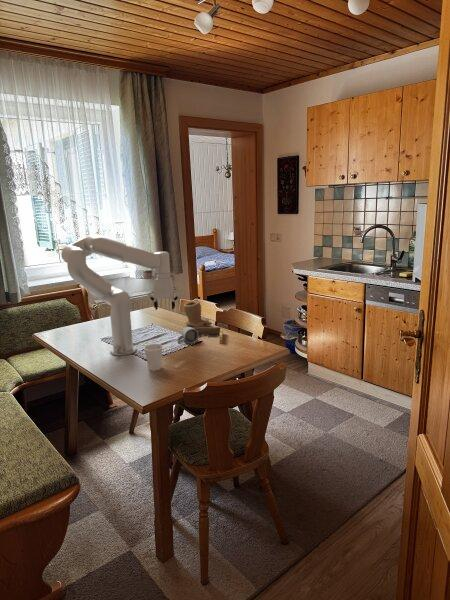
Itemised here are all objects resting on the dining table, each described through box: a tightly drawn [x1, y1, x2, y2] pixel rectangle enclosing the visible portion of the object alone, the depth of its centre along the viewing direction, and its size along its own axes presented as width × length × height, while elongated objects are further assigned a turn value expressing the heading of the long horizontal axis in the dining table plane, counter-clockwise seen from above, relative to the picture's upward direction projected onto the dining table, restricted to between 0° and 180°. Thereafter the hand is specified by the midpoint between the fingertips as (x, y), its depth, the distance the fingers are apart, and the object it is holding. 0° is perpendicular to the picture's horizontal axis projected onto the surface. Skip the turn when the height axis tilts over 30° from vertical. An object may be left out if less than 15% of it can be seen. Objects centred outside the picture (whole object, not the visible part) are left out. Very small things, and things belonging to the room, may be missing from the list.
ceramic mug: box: [176, 326, 199, 344], centre depth 217 cm, size 11×8×8 cm
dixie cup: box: [143, 343, 164, 372], centre depth 182 cm, size 8×8×10 cm
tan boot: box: [183, 300, 213, 328], centre depth 243 cm, size 15×12×15 cm
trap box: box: [192, 326, 224, 345], centre depth 220 cm, size 17×20×4 cm
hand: (164, 308), depth 214 cm, fingers open, 8 cm apart
